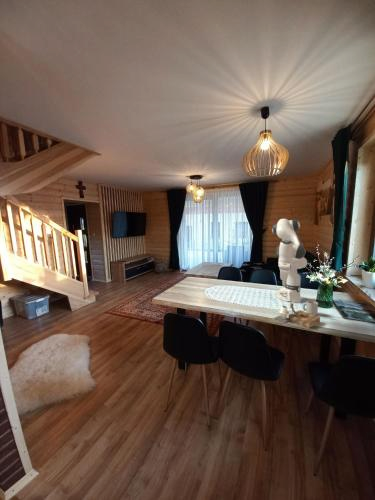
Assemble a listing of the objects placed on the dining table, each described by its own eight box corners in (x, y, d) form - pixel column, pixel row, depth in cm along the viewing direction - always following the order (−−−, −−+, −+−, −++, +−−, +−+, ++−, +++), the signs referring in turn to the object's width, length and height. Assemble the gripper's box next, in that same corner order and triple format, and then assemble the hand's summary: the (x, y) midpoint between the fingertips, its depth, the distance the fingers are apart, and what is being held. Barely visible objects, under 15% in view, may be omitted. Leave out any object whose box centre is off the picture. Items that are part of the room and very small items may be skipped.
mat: (274, 318, 146) (274, 317, 145) (281, 315, 150) (281, 315, 150) (284, 322, 139) (284, 321, 139) (291, 319, 143) (291, 319, 143)
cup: (317, 316, 147) (318, 304, 147) (301, 313, 153) (302, 302, 152) (317, 312, 154) (317, 301, 153) (302, 310, 159) (302, 299, 158)
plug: (276, 317, 146) (277, 305, 145) (283, 315, 148) (283, 303, 147) (284, 321, 140) (284, 308, 139) (290, 319, 142) (291, 306, 141)
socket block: (288, 320, 143) (288, 313, 142) (299, 315, 150) (299, 308, 149) (308, 328, 131) (309, 321, 130) (319, 322, 138) (320, 315, 137)
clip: (297, 315, 138) (297, 311, 137) (292, 315, 139) (293, 310, 138) (293, 307, 152) (293, 303, 152) (289, 306, 153) (289, 303, 152)
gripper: (281, 261, 150) (280, 279, 152) (279, 266, 132) (278, 286, 134) (290, 262, 147) (289, 280, 149) (289, 267, 129) (288, 288, 131)
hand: (284, 283), depth 141 cm, fingers open, 8 cm apart
